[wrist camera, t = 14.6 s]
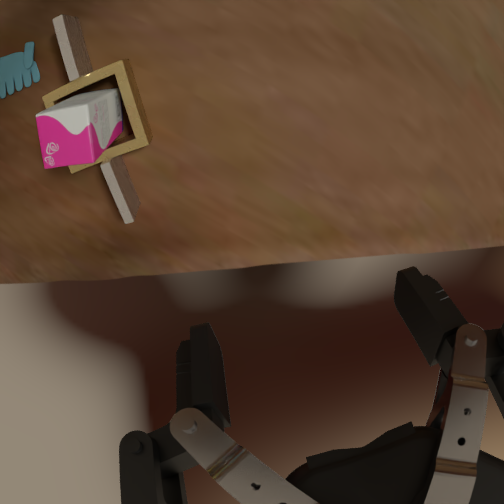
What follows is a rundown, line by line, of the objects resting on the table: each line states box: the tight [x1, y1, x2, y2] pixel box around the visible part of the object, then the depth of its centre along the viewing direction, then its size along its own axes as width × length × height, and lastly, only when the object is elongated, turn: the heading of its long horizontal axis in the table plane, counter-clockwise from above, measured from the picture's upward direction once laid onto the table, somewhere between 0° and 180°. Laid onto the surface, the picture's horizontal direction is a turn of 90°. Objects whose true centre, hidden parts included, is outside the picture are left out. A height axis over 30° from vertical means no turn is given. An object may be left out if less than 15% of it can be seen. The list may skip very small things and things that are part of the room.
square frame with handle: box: [42, 14, 153, 224], centre depth 31 cm, size 26×10×5 cm, turn 12°
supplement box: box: [36, 88, 123, 169], centre depth 28 cm, size 6×6×12 cm
